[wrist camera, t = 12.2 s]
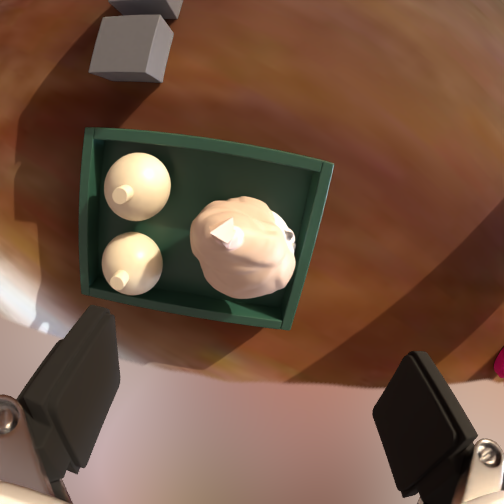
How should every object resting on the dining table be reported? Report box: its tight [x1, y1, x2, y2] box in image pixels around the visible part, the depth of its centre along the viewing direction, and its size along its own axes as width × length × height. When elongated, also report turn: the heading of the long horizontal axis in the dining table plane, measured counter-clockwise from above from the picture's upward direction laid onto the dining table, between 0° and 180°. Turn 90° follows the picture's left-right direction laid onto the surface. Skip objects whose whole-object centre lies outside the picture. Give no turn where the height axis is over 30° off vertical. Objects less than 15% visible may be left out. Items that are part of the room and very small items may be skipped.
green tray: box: [79, 127, 334, 330], centre depth 21 cm, size 17×13×3 cm
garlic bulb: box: [190, 196, 296, 299], centre depth 18 cm, size 7×6×8 cm
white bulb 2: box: [102, 232, 163, 295], centre depth 20 cm, size 4×4×5 cm
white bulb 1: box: [104, 153, 171, 221], centre depth 18 cm, size 4×4×5 cm
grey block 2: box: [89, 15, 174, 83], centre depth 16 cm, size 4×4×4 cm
